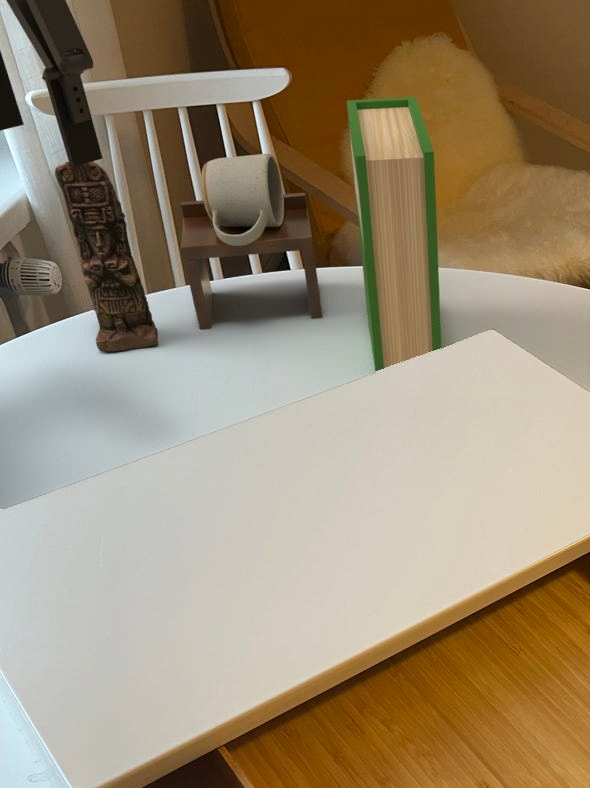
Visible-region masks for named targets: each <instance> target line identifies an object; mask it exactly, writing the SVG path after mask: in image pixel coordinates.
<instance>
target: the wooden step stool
mask: <svg viewBox="0 0 590 788" xmlns="http://www.w3.org/2000/svg"><path fill="white" fill-rule="evenodd" d="M283 198H284V216H283V221H282V224H281V225H280V226H279V227H265V229H264V231H263V233H262V234H261V236H260V237H259V238H258V239H257V240H255V241H254V242H252V243H250V244H247V245H243V246H233V245H229V244H226V243H224V242H223V241H221V240H220V239H219V237H218V236H217V233H216V231H215V229H214V225H213V221H212V220H211V219H210V217H209V216H208V213H207V211H206V208H205V205H204V200H191V201H190V200H189V201H181V202H180V211H181V214H182V218H183V219H182V231H181V241H180V242H181V243H180V244H181V245H180V249H181V254H182V258H183V263H184V267H185V271H186V276H187V280H188V285H189V288H190V289H189V290H190V293H191V298H192V302H193V306H194V310H195V315H196V318H197V323H198V327H199V330H206V329H212V321H213V319H212V315H213V290H212V285H211V281H210V276H209V271H208V266H207V261H206V259H213V258H227V257H228V258H229V257H238V256H251V255H252V256H253V255H263V254H264V255H265V254H274V253H275V254H276V253H286V252H296V251H297V252H299V251H301V255H302V262H303V269H304V277H305V284H306V291H307V297H308V305H309V311H310V319H313V320H314V319H320V318H321V319H322V318H323V311H322V310H323V309H322V301H321V296H320V288H319V280H318V273H317V265H316V257H315V250H314V243H313V235H312V234H313V233H312V229H311V224H310V223H311V222H310V216H309V211H308V202H307V195H306V192H295V193H294V192H293V193H283ZM251 228H252V227H226V226H220V225H219V229H220V231H222V232H224V233H225V234H229V235H240V234H243V233H245V232H247V231H249V230H250V229H251Z"/></svg>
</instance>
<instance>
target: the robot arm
mask: <svg viewBox="0 0 590 788" xmlns="http://www.w3.org/2000/svg"><path fill="white" fill-rule="evenodd" d="M5 1H6V3H7V4H8V6H9V8H10V10H11V11H12V13H13V15H14V16H15V18H16V20H17V22H18V23H19V25H20V27H21V29H22V30H23V32H24V33H25V35H26V36H27V38H28V40H29V42H30V43H31V45H32V47H33V49H34V50H35V52H36V54H37V56H38V57H39V59H40V60H41V62H42V64H43V65H44V67H45V68H44V69H43V72H42V76H41V79H42V80H43V81H44V82H45V85H46V88H47V92H48V95H49V97H50V98H49V99H50V102H51V105H52V109H53V112H54V115H55V119H56V123H57V126H58V129H59V133H60V137H61V140H62V143H63V146H64V151H65V152H66V153H65V154H66V157H67V161H68V162H69V164H70V165H72V166H74V167H75V166H78V165H82V164H85V163H89V162H92V161H93V162H96V161H99V160H102V159H104V158H103V153H102V151H101V147H100V144H99V143H100V142H99V139H98V136H97V133H96V132H97V131H96V129H95V128H96V127H95V124H94V120H93V118H92V113H91V110H90V106H89V102H88V99H87V94H86V91H85V88H84V84H83V80H82V74H84V72H85V71H87V70H91V69H94V60H93V57H92V55H91V53H90V50H89V48H88V46H87V44H86V42H85V40H84V37H83V36H82V33H81V31H80V28H79V27H78V25H77V22H76V20H75V18H74V16H73V13H72V11H71V9H70V6H69V4H68V2H67V0H5ZM21 126H24V121H23V117H22V113H21V111H20V108H19V105H18V102H17V98H16V95H15V92H14V89H13V86H12V82H11V80H10V77H9V73H8V70H7V66H6V64H5V61H4V57H3V54H2V51H1V50H0V132H1V131H5V130H9V129H13V128H16V127H21Z"/></svg>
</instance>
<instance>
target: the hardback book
mask: <svg viewBox="0 0 590 788" xmlns="http://www.w3.org/2000/svg"><path fill="white" fill-rule="evenodd" d="M346 106H347V107H346V108H347V119H348V127H349V137H350V139H349V140H350V148H351V149H350V150H351V159H352V169H353V170H352V171H353V180H354V189H355V191H354V192H355V201H356V211H357V212H356V213H357V222H358V233H359V242H360V253H361V264H362V273H363V283H364V285H363V286H364V294H365V304H366V314H367V315H368V316H367V322H368V330H369V336H370V337H371V338H370V345H371V350H372V358H373V359H374V360H373V367H374V366H375V367H374V372H375V371H378V370H381V369H384V368H386V367H389V366H391V365H394V364H397V363H400V362H403V361H406V360H409V359H411V358H414V357H416V356H420V355H423V354H426V353H428V352H431V351H434V350H437V349H440V348H441V349H442V327H441V301H440V278H439V277H440V276H439V273H440V272H439V248H438V223H437V222H438V221H437V197H436V195H437V193H436V174H435V173H436V171H435V150H434V147H433V145H432V141H431V138H430V135H429V133H428V130H427V126H426V124H425V121H424V118H423V115H422V113H421V109H420V106H419V103H418V100H417V97H416V96H411V97H408V96H407V97H391V98H390V97H389V98H370V99H369V98H367V99H350V100H349V99H348V100H346Z"/></svg>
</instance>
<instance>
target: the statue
mask: <svg viewBox="0 0 590 788" xmlns="http://www.w3.org/2000/svg"><path fill="white" fill-rule="evenodd" d="M54 176H55V179H56V182H57V183H58V186H59V188H60V190H61V192H62V194H63V199H64V203H65V207H66V211H67V215H68V219H69V221H70V222H71V227H72V232H73V236H74V238H75V241H76V245H77V247H78V248H77V249H78V253H79V258H80V260H79V261H80V262H79V263H80V267H81V273H82V276H83V279H84V283H85V285H86V287H87V288H88V292H89V293H88V294H89V296H90V299H91V302H92V306H93V308H92V309H93V311H94V313H95V314H96V318H97V323H98V326H99V330H98V332H97V334H96V338H95V344H96V347H97V349H98V351H100V352H119V351H126V350H127V351H128V350H133V349H139V348H147V347H154V346H156V345H157V344H159V341H158V337H159V336H158V335H159V334H158V327H156V324H155V321H154V320H153V314H152V313H151V311H150V306H149V302H148V300H147V296H146V292H145V289H144V286H143V284H142V281H141V280H142V279H141V277H140V274H139V272H138V268H137V265H136V262H135V260H134V257H133V254H132V250H131V245H130V240H129V236H128V229H127V221H126V219H125V217H126V215H125V213H124V212H123V208H122V203H121V201H119V199H118V196H117V193H116V190H115V188H114V185H113V183H112V181H111V179H110V177H109V174H108V173H107V172H106V171H105V169H104V168H103V167H102V166H100V165H99V164H98V163H97V162H96V161H92V162H89V163H85V164H82V165H78V166H75V167H74V166H72V165H70V164H69V161H66V162H64V163H62V164H59V165H58V166H56V167H55V169H54Z"/></svg>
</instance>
